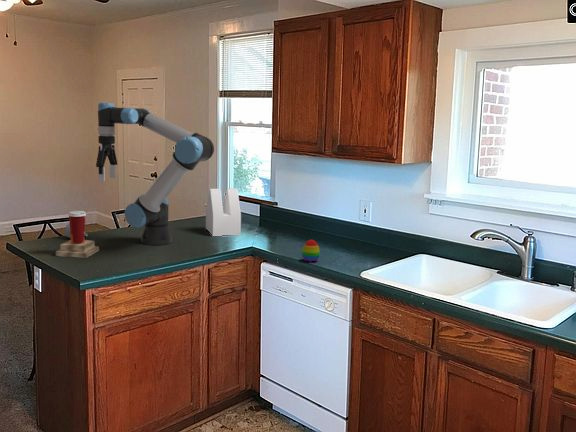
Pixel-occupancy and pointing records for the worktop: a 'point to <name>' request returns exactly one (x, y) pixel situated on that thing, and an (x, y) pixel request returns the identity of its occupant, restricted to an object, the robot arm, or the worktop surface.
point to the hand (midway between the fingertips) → (107, 179)
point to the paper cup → (77, 226)
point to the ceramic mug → (67, 231)
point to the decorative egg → (311, 251)
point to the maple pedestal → (77, 249)
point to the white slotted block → (223, 213)
